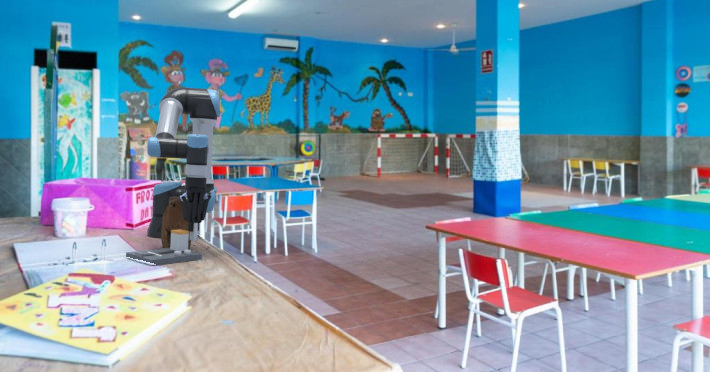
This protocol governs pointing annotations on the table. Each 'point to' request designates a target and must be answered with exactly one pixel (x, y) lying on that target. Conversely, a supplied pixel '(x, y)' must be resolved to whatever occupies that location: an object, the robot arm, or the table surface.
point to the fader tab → (179, 240)
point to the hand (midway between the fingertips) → (193, 240)
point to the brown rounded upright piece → (173, 221)
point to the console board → (164, 256)
